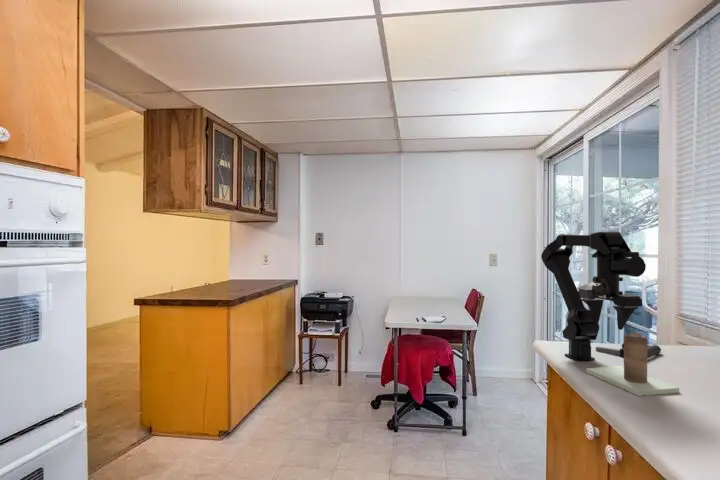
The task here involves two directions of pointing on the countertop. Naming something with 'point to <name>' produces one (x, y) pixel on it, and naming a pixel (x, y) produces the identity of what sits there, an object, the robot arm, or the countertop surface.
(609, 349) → the door handle
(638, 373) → the brown capped cylinder
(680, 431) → the countertop surface
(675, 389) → the serving board
